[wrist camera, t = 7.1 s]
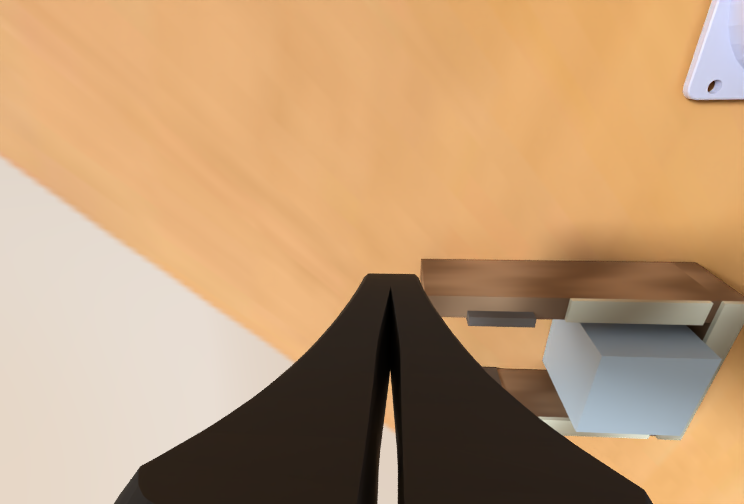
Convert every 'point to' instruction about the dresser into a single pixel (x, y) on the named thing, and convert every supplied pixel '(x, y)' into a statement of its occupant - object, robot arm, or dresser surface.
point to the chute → (582, 310)
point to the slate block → (628, 375)
